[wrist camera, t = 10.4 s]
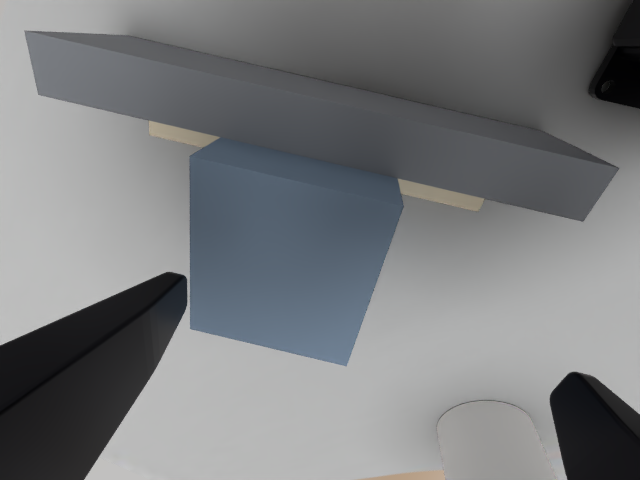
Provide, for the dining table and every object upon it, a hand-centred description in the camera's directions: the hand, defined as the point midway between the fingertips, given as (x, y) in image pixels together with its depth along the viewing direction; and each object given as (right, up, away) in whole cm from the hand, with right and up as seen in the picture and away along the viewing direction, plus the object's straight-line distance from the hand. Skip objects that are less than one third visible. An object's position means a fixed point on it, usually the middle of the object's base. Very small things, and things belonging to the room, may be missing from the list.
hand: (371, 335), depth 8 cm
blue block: (-2, +5, +11) cm, 12 cm away
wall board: (-1, +9, +8) cm, 12 cm away
